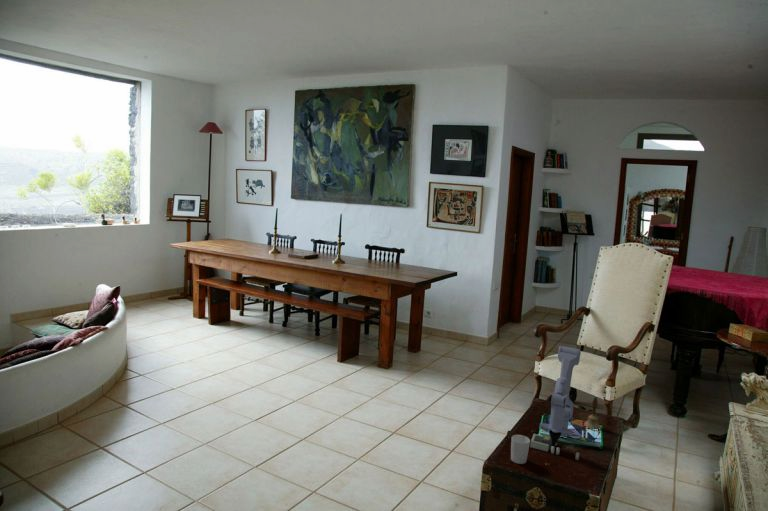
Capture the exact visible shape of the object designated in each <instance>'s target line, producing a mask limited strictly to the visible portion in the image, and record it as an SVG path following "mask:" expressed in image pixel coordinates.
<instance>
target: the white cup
mask: <svg viewBox="0 0 768 511" xmlns="http://www.w3.org/2000/svg"><path fill="white" fill-rule="evenodd" d="M510 441H511V442H510V460H511V461H512V462H513V463H515V464H518V465H524V464H526V463H527V460H528V454H529V448H530V443H531V439H530V438H529V437H528V436H526V435H522V434H514V435H512V436H511V440H510Z"/></svg>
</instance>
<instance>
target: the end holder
mask: <svg viewBox="0 0 768 511" xmlns="http://www.w3.org/2000/svg"><path fill="white" fill-rule="evenodd" d="M543 436H545V435H541V434H538V433H537V434H536V433H533V435H532V438H531V439H530V444H529V448H532V449H537V450H539V451H544V452H549V450H548V447H549V445H548V444H544V443H542V438H543ZM545 437H547V436H545Z"/></svg>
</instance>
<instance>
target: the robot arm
mask: <svg viewBox="0 0 768 511" xmlns="http://www.w3.org/2000/svg"><path fill="white" fill-rule="evenodd" d="M557 352H558V353H557V357H558V361H559V362H560V363H561V367H560V375H559V378H557V379H556V382H555V387H554V391H553V393H552V395H551V399H550V403H551V407H550V419H549V423H545V422H544V423H542V422H540V423H539V429H540V430H542V429H544V430H547V431H549V432H548V433H549V438H551V440H552V444H551V446H554V447H555V448H556V446H557V444H556V442H558V441H559V439H560V436H566V435H568V436H570V437H572V436H573V432H574V431H573V430H571V429H569V420H571V419H572V418H573V416H574V415H573V413H574V406H575V404H574V402H573V401H572V400H571V399H570V391H571V390H570V389H571V384H572V378H573V376H572V375H573V370H574V367H575V366H579V363H580V359H581V352H582V351H581V349H580V348H574V347H569V346H565V345H564V346H563V345H560V346H559V347H558V351H557ZM555 445H556V446H555Z"/></svg>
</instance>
